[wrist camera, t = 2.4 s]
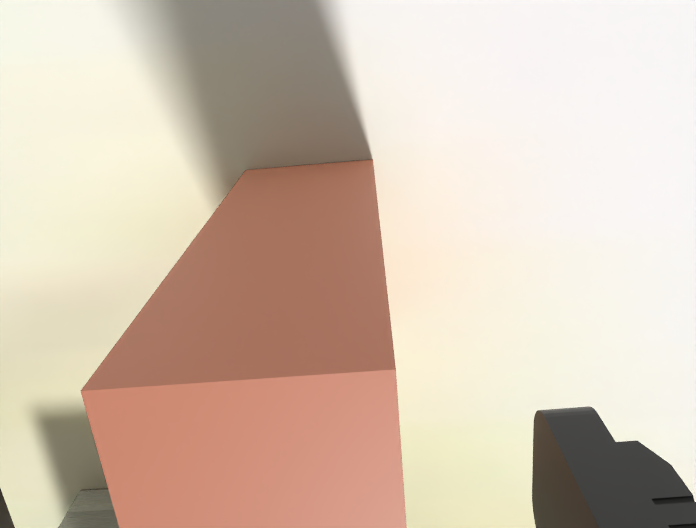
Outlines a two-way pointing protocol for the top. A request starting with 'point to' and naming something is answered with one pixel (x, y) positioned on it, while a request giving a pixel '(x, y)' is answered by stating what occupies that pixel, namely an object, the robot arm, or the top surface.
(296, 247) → the pink rectangular block
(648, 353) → the top surface
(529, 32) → the top surface
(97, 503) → the slot bed
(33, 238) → the top surface
